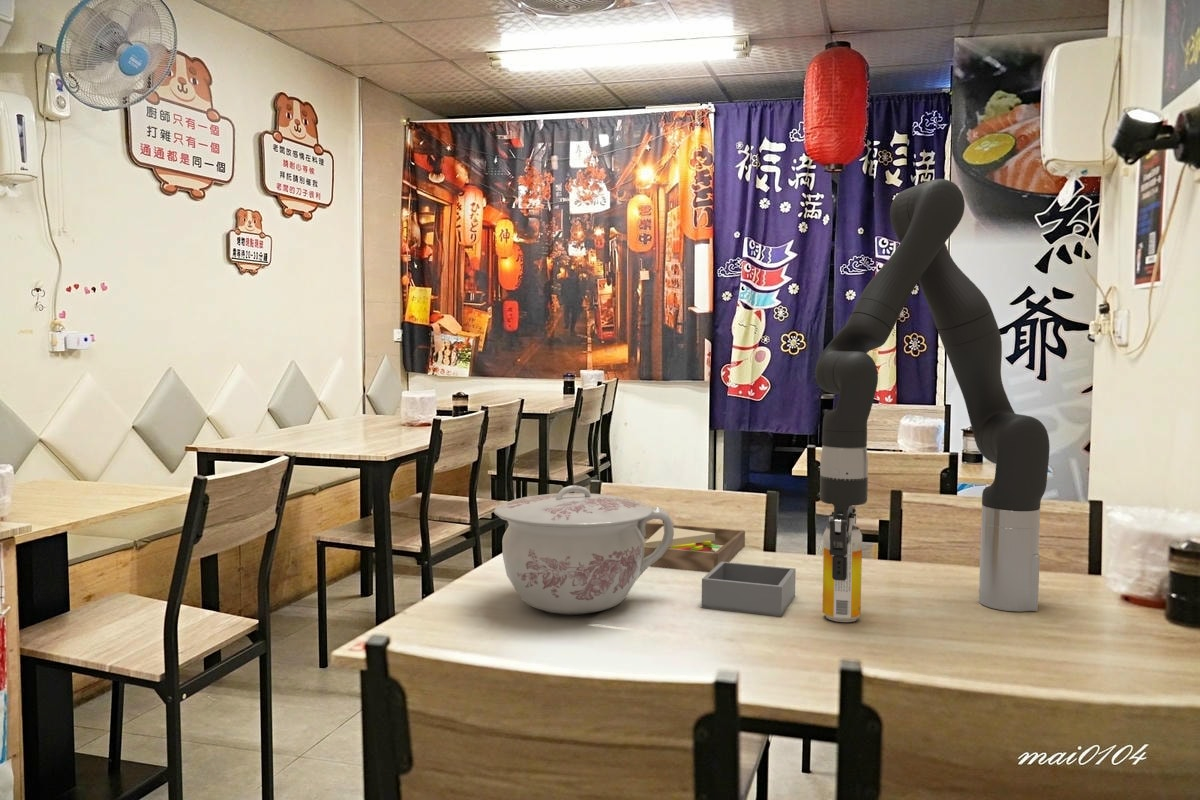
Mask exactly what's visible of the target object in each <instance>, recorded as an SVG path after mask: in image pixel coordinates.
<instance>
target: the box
mask: <svg viewBox="0 0 1200 800" xmlns="http://www.w3.org/2000/svg"><path fill="white" fill-rule="evenodd" d="M796 569H797V568H794V567H793V568H792V567H784V566H775V565H772V566H771V565H763V564H751V563H740V562H732V561H730V562H720V563H719V564H718V565H717V566H716V567H715V568H714V569H712V570H711V571H710V572H707V574H706V575H705V576H704V577H702V578H701V608H702V609H709V610H716V611H717V610H718V611H727V612H736V613H744V614H752V615H753V614H754V615H761V616H763V615H764V616H772V617H781V618H782V616H783V614H785V612H786V610H787V609H788V607H789V606H790V604H791V603H792V601H793V600H794V599H795V597H796V572H797V571H796Z"/></svg>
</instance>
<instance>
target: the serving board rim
mask: <svg viewBox="0 0 1200 800" xmlns="http://www.w3.org/2000/svg"><path fill="white" fill-rule="evenodd" d="M662 526H664V525H663V523H655V522H647V523H646V525H645V535H646V536H645V537H644V539H645V540H648V539H649V538H650V537H651V536H652V535H654V534H655V533H656V532H657V531H658V530H659V529H660V528H661V527H662ZM673 528H679V529H686V530H694V531H702V532H709V533H715V541H711V544H714V545H716V546H720V547H721V548H718V549H717V550H716V551H715V552H714V551H713V552H704V551H693V550H682V549H672V548H668V549H667V550H666V552H665V553H664V554H663V556H662V557H661V558H659V559H658V560H657V561H655V562H654V563H653V564H652V565H650V566H651V567H650V568H658V569H659V568H660V569H672V570H681V571H682V570H683V571H691V572H692V571H693V572H701V573H709V572H710V571H711V570H712V569H714V568H715V567H716V566H717V565H718V564H719V563H720V562H732V560H733V559H734V558H735V557H736V556H738V554H739V553H740V552H741V551H742V550H743V549H744V548H745V547H746V530H744V529H741V530H740V529H729V528H717V527H706V526H705V527H704V526H695V525H694V526H693V525H692V526H691V525H681V524H673ZM656 548H657V547H650V546H644V558H646V557H647V556H649V555H650V554H652V553H653V552H654V550H655V549H656ZM739 551H740V552H739ZM738 552H739V553H738ZM737 553H738V554H737ZM644 558H643V559H644Z"/></svg>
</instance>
